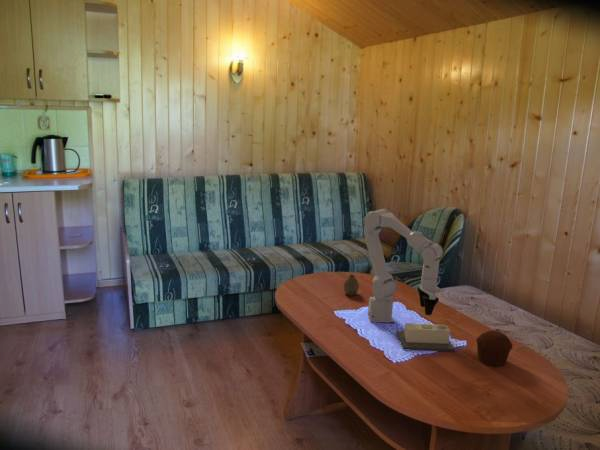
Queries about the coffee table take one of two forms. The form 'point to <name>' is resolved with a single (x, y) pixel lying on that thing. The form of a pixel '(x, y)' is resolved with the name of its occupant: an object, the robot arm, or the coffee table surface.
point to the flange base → (424, 345)
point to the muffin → (493, 348)
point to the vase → (351, 285)
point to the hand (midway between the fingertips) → (425, 310)
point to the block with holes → (426, 333)
